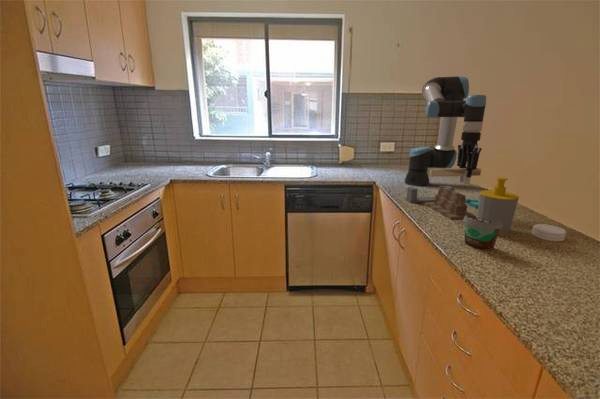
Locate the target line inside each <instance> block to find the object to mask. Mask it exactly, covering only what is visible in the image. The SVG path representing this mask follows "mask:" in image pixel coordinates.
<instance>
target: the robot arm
mask: <svg viewBox="0 0 600 399" xmlns="http://www.w3.org/2000/svg"><path fill="white" fill-rule="evenodd" d="M469 92H470V82H469V78H468V77H466V76H437V77H433V78H431V79H429V80H428V81H427V82H425V83H424V85H423V86H422V89H421V93H422V97H423V99H425V100H426V102H427V103H426V107H425V116H426V117H427V118H434V119H435V118H441V120H440V125H439V132H438V138H437V144H436V145H434V146H433V149H432V148H431V147H430V146H418V147H413V148H412V149H410V152H409V160H408V161H409V162H408V170H407V173H406V176H405V177H404V184H405V185H409V186H415V187H416V186H420V187H422V186H423V187H424V186H429V185H430V178H429V177H430V176H428V169H449V168H453V167H454V166H455V163H456V162H457V163H456V166H457V167H458V168H467V169H465V175H464V176H458V181H457V182H458V183H463V185H470V183H471V178H472V176H471V175H472V170H474V169H476V168H478V163H479V157H480V153H481V151H482V147H479V146H478V142H479V141H480V140H481V135H482V130H483V124H484V116H485V113H486V112H485V110H486V107H487V106H486V105H487V96H486V95H485V94H469ZM465 99H466V100H465ZM458 118H463V125H462V132H461V137H460V139H461V141H462V143H461V144H458V145H457V150H458V151H457V150H456V149H455V146H454V145H453V144H454V139H455V133H456V128H457V123H458Z"/></svg>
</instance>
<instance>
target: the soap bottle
mask: <svg viewBox="0 0 600 399" xmlns="http://www.w3.org/2000/svg"><path fill="white" fill-rule="evenodd" d="M495 180H497V183H496V184H497V185H495V186H494V188H493V189H491V190H489V189H487V190H481V191H480V192H479V196H478V200H479V204H478V208H477V215H476V218H478V219H485V220H488V221H490V222H494V223H500V222H502V224H503V228H501V229H500V230H499V233H498V236H505V235H509V233H510V231H511V227H512V223H513V220H514V216H515V212H516V209H517V205H518V202H519V199H520V196H519V195H518V194H515V193H513V192H508V191H506V190H507V187H506V186H505V184H506V183H505V182H506V181H508V180H509V179H508V178H506V177H503V176H502V177H501V176H499V177H495Z"/></svg>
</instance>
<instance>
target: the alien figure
mask: <svg viewBox="0 0 600 399" xmlns="http://www.w3.org/2000/svg"><path fill="white" fill-rule="evenodd" d="M465 204H468V206H469V207H471V208H473V207H474V209H478V204H479V199H473V198H472V199H471V198H467V197H465Z"/></svg>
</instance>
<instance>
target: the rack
mask: <svg viewBox="0 0 600 399" xmlns="http://www.w3.org/2000/svg"><path fill="white" fill-rule="evenodd" d="M443 186H444V187H446V188H449V189H451V190H453V191H455V187H453V186H450V185H443ZM404 200H405V201H407V202H408V203H410V204H411V203H412V204H413V203H414V204H415V203H417V204H418V203H425V202H434V200H435V196H419V197H418V188H416V187H414V186H407V191H406V197H405V198H404Z"/></svg>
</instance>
